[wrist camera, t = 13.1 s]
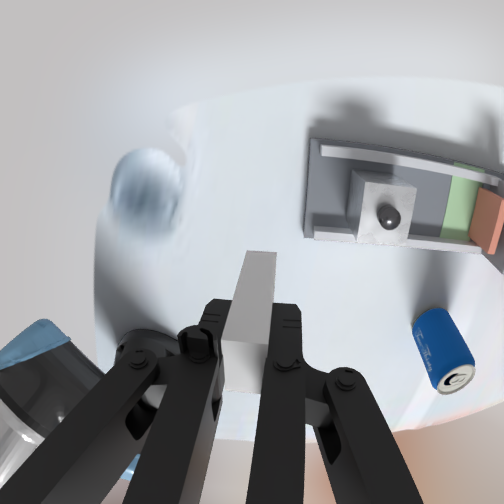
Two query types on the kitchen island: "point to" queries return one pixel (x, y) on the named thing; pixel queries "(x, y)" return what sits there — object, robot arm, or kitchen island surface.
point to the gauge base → (415, 173)
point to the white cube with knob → (380, 207)
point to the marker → (487, 220)
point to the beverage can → (443, 351)
